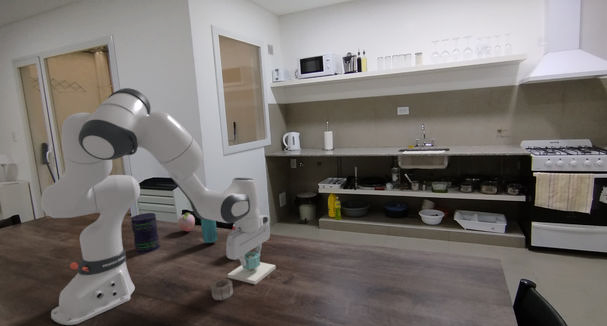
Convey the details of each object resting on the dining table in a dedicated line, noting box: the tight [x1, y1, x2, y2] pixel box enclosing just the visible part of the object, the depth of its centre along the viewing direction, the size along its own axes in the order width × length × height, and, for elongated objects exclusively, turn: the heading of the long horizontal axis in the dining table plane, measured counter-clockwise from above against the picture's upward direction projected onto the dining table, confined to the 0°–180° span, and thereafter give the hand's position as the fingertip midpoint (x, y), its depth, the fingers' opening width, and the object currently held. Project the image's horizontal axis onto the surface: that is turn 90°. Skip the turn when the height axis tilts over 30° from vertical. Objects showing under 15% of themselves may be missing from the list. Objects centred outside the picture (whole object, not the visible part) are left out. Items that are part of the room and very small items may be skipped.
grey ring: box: [210, 278, 234, 301], centre depth 101 cm, size 6×6×4 cm
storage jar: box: [130, 212, 161, 255], centre depth 141 cm, size 10×10×15 cm
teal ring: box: [243, 251, 261, 269], centre depth 113 cm, size 6×6×4 cm
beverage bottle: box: [200, 219, 219, 244], centre depth 142 cm, size 6×7×20 cm
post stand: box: [227, 255, 277, 285], centre depth 113 cm, size 12×12×6 cm
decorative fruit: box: [176, 212, 196, 233], centre depth 160 cm, size 9×8×10 cm
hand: (251, 260), depth 113 cm, fingers closed on teal ring, 6 cm apart
